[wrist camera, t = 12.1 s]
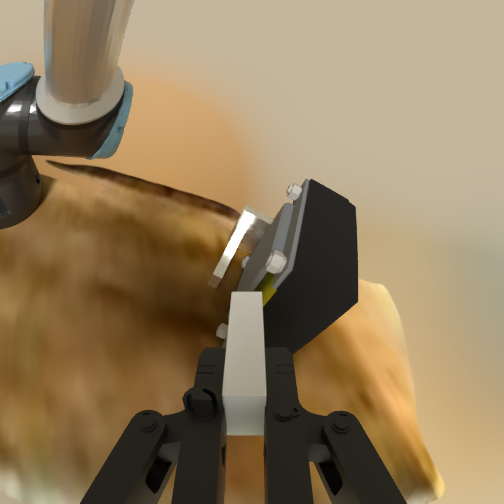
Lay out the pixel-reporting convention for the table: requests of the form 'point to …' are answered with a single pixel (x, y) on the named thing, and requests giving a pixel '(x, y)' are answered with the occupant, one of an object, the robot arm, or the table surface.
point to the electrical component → (303, 267)
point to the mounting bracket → (242, 239)
